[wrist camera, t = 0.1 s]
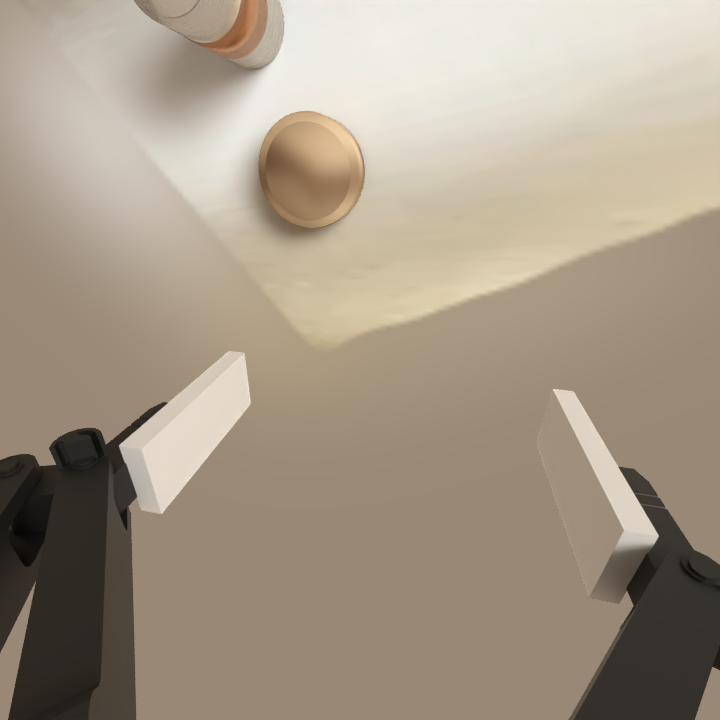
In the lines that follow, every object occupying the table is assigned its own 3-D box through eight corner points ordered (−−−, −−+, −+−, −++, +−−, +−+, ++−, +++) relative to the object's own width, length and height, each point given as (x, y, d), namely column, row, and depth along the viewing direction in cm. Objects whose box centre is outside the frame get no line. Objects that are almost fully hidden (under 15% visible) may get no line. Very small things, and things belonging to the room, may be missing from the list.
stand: (266, 114, 37) (252, 110, 34) (366, 115, 35) (359, 110, 33) (274, 221, 42) (262, 225, 39) (363, 226, 40) (357, 231, 37)
